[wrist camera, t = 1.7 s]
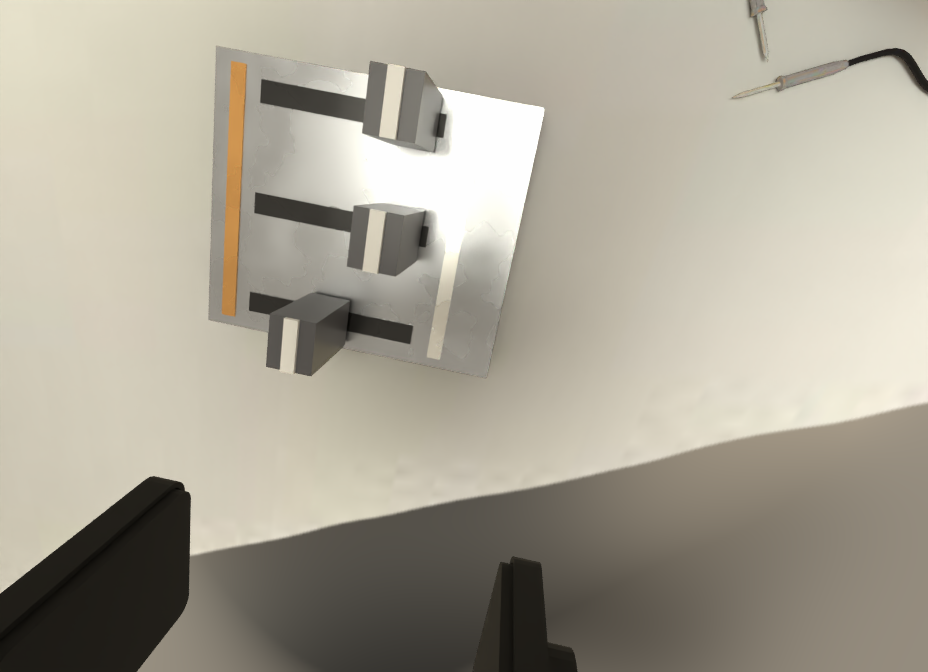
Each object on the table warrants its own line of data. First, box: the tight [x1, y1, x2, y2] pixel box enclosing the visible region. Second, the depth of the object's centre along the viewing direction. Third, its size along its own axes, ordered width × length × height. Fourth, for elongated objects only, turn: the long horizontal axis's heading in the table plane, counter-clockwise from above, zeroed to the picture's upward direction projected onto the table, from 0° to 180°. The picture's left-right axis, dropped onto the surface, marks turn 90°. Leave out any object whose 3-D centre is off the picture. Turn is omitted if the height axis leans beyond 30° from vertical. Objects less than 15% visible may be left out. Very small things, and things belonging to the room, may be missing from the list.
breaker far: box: [266, 293, 350, 376], centre depth 23 cm, size 2×2×5 cm
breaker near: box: [362, 61, 443, 153], centre depth 19 cm, size 2×2×5 cm
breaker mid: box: [347, 203, 424, 277], centre depth 21 cm, size 2×2×5 cm
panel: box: [209, 46, 545, 378], centre depth 24 cm, size 13×15×2 cm
